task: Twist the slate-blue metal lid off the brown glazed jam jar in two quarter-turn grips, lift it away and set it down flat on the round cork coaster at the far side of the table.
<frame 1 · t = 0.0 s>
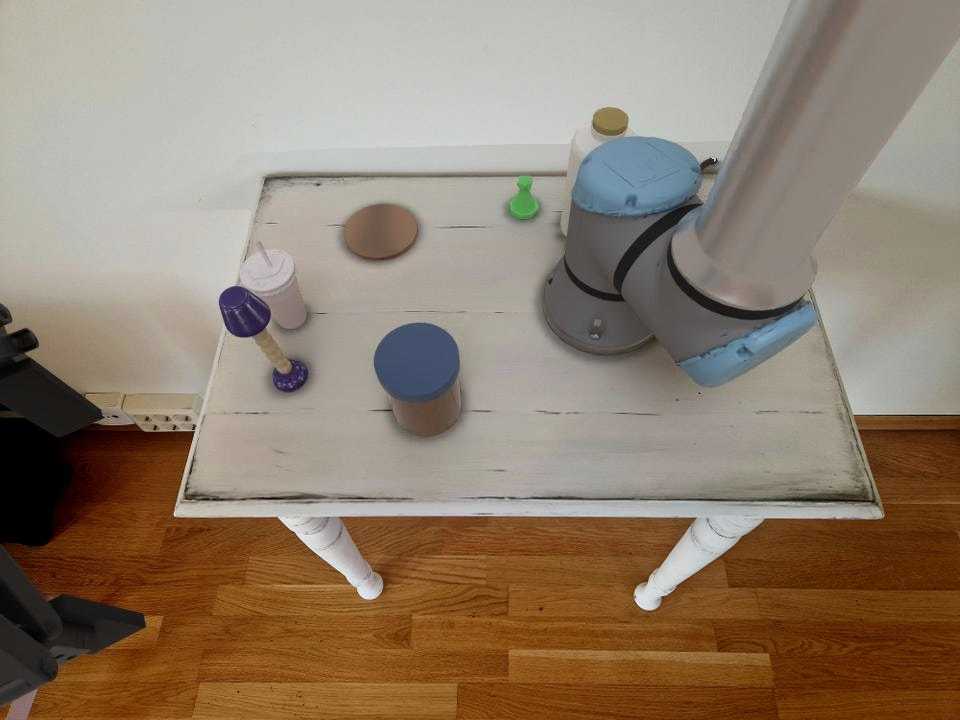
hand: (98, 518, 33), 28 cm above the table, tool pointing down, fingers open, 13 cm apart
game piece: (523, 210, 83), on the table
jar: (427, 405, 67), on the table
smoothie: (292, 318, 74), on the table
jar lid: (416, 359, 58), point 10 cm above the table, screwed on, not yet turned
potion bottle: (588, 230, 81), on the table
coaster: (381, 232, 82), on the table
toy lamp: (288, 379, 70), on the table
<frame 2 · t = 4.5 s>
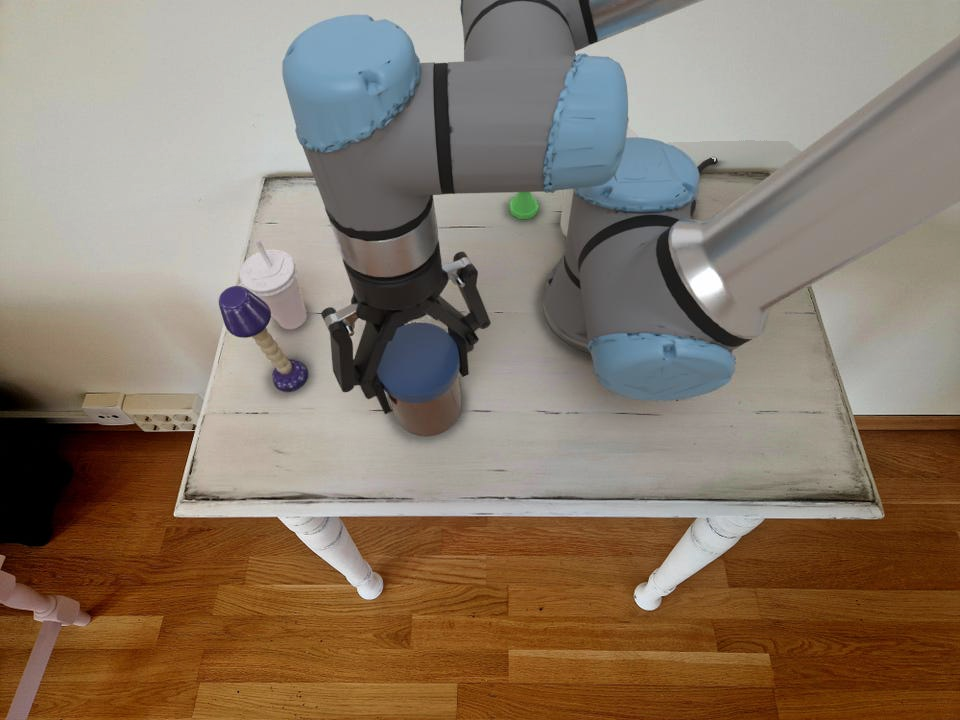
hand: (422, 384, 63), 5 cm above the table, tool pointing down, fingers closed on jar lid, 9 cm apart
jar lid: (416, 359, 58), point 10 cm above the table, screwed on, not yet turned, touching gripper
everything else where it was.
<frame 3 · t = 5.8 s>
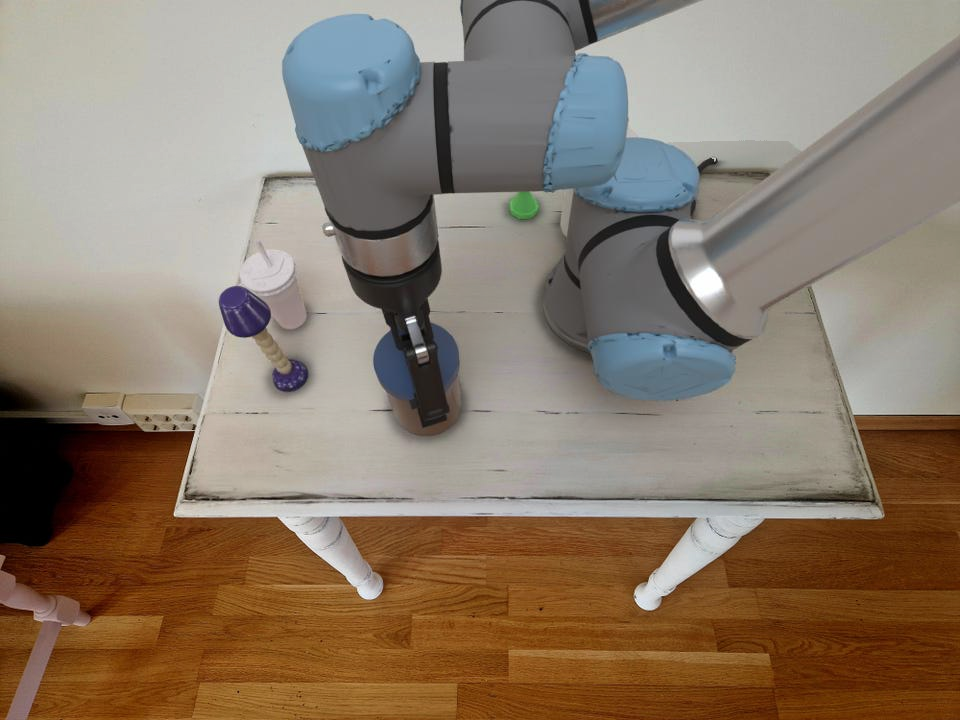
hand: (421, 384, 63), 5 cm above the table, tool pointing down, fingers closed on jar lid, 9 cm apart
jar lid: (416, 358, 58), point 11 cm above the table, turned 81° so far, risen 0.2 cm, still on its thread, touching gripper
everything else where it was.
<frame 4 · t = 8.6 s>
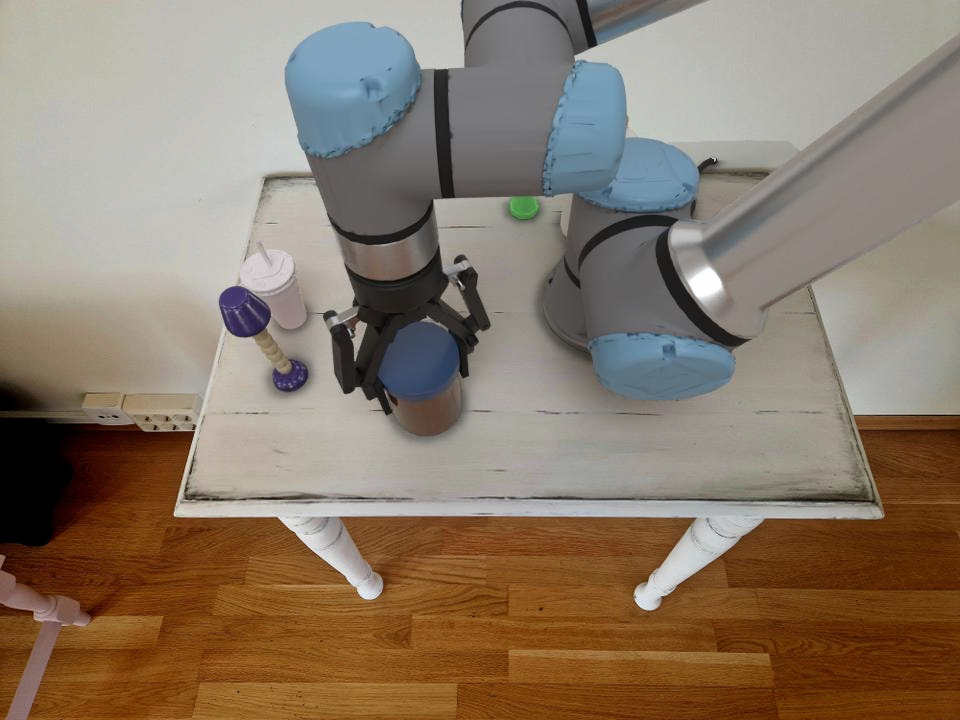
hand: (423, 386, 63), 5 cm above the table, tool pointing down, fingers closed on jar lid, 9 cm apart
jar lid: (416, 358, 58), point 11 cm above the table, turned 90° so far, risen 0.3 cm, still on its thread, touching gripper
everything else where it was.
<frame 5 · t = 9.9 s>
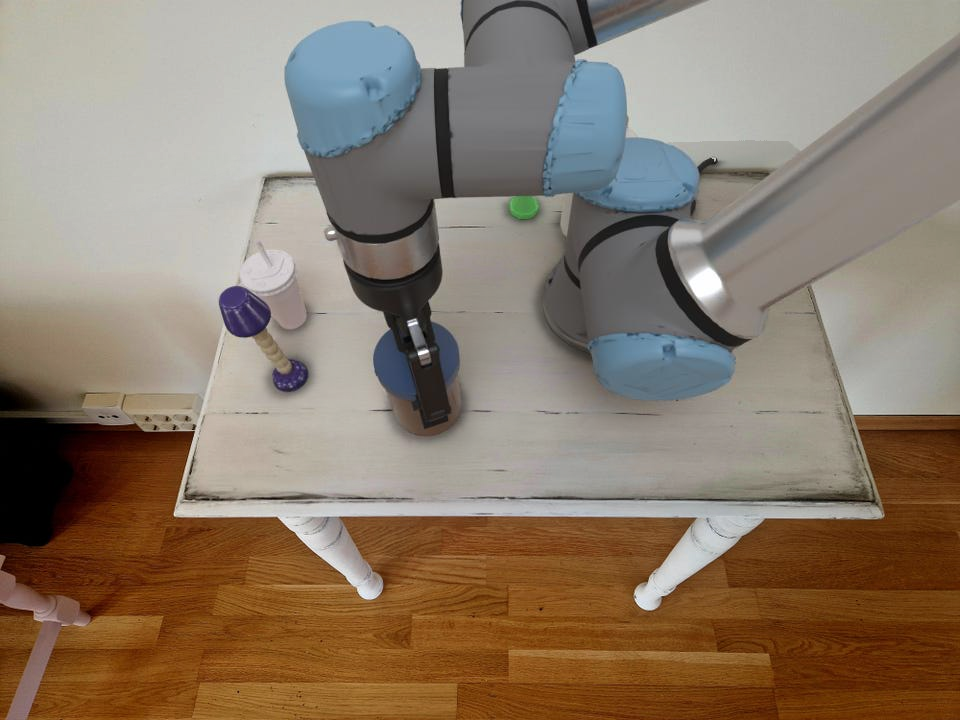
hand: (422, 385, 63), 5 cm above the table, tool pointing down, fingers closed on jar lid, 9 cm apart
jar lid: (416, 357, 58), point 11 cm above the table, off its thread, touching gripper
everything else where it was.
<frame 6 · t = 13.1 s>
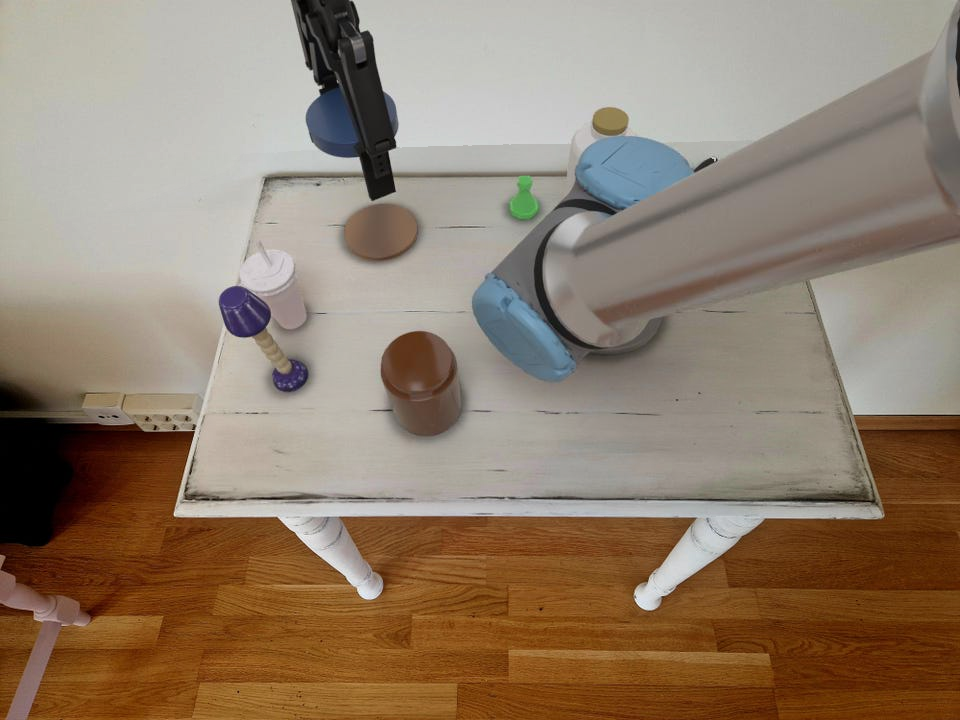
hand: (364, 167, 60), 19 cm above the table, tool pointing down, fingers closed on jar lid, 9 cm apart
jar lid: (351, 116, 55), point 25 cm above the table, off its thread, touching gripper
everything else where it was.
when the fingers open (2 cm above the table, at t = 17.9 s): jar lid drops 6 cm, resting on coaster.
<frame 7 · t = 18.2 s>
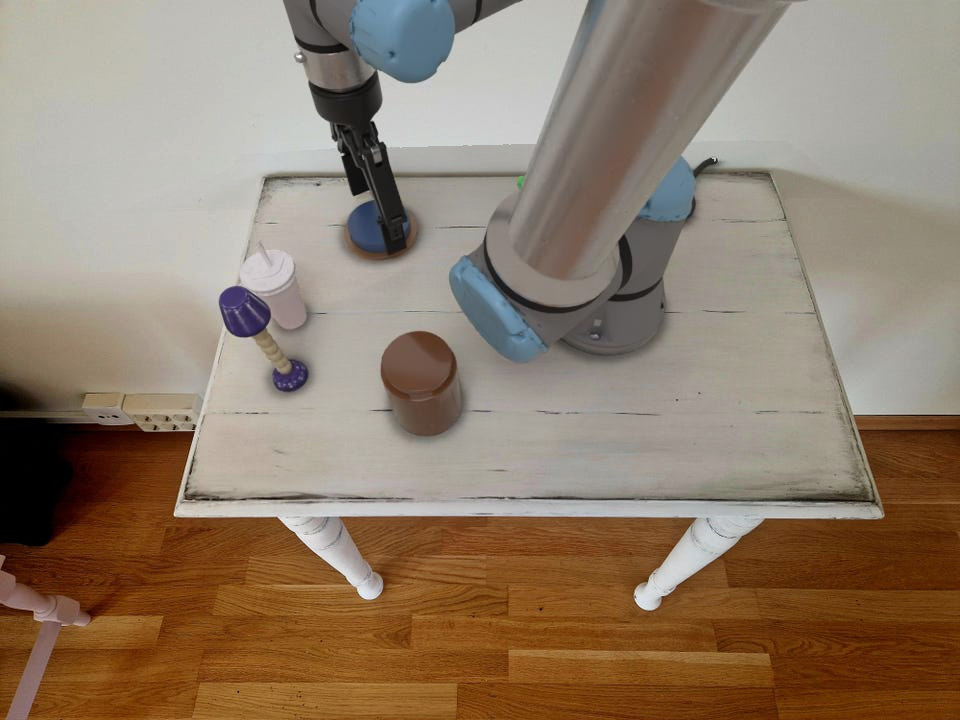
hand: (378, 219, 79), 3 cm above the table, tool pointing down, fingers open, 12 cm apart
jar lid: (378, 223, 80), point 2 cm above the table, off its thread, touching coaster
everything else where it was.
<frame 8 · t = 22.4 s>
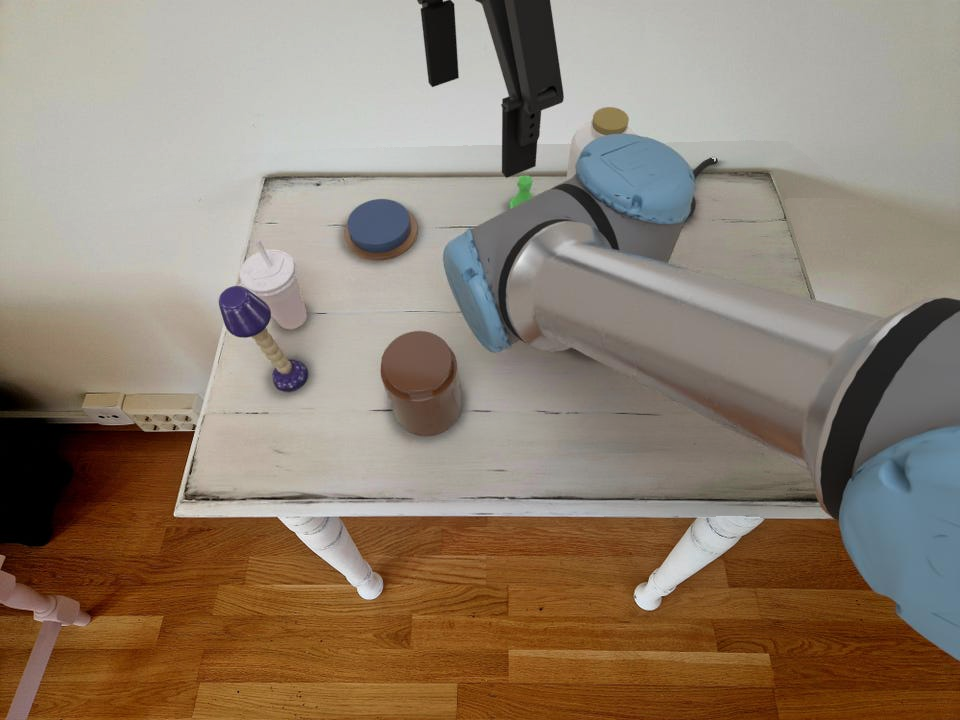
hand: (478, 122, 49), 29 cm above the table, tool pointing down, fingers open, 13 cm apart
nothing on the table moved.
at the end: jar lid came off its thread; jar lid inside the target area on the coaster (0.0 cm from its centre), point 1.9 cm above the coaster's base; the gripper is holding nothing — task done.
